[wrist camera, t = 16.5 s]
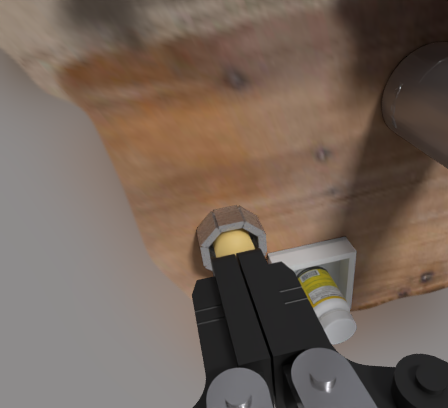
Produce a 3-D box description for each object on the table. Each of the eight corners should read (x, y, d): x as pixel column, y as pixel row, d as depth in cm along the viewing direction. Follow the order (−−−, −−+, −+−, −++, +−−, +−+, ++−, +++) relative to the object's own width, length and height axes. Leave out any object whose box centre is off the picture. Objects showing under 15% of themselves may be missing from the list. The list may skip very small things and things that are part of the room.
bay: (345, 236, 46) (356, 251, 44) (341, 292, 52) (350, 308, 49) (267, 253, 45) (274, 269, 43) (271, 309, 51) (278, 326, 48)
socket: (256, 200, 41) (264, 216, 39) (260, 249, 45) (267, 267, 42) (193, 213, 40) (197, 230, 38) (202, 262, 44) (206, 280, 42)
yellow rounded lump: (246, 218, 41) (254, 235, 39) (249, 247, 43) (256, 265, 41) (209, 226, 41) (214, 244, 38) (214, 255, 43) (219, 273, 40)
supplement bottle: (314, 294, 50) (344, 350, 43) (284, 288, 48) (309, 344, 41) (334, 267, 48) (368, 320, 41) (303, 259, 46) (333, 313, 39)
